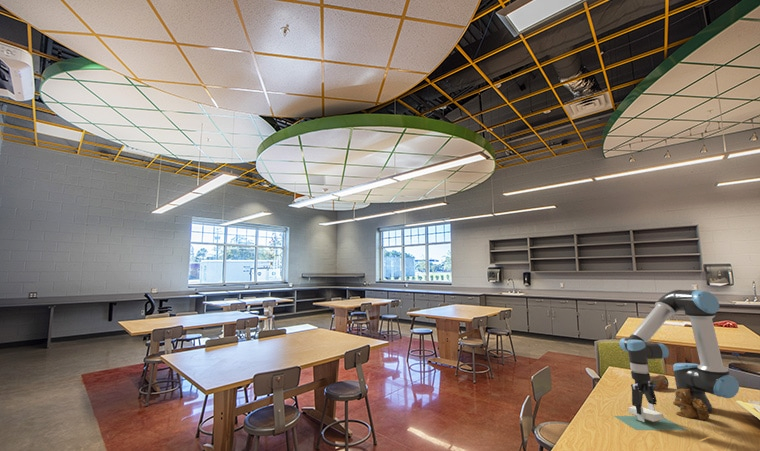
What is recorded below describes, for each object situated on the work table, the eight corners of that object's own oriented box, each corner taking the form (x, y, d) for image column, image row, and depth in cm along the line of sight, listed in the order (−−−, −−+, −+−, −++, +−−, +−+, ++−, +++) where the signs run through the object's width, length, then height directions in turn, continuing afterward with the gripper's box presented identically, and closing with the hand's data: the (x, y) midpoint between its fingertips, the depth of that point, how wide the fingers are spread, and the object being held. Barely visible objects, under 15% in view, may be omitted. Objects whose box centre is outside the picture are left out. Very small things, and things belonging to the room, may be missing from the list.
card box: (637, 405, 167) (662, 413, 157) (638, 411, 167) (663, 420, 157) (628, 407, 164) (652, 415, 154) (628, 413, 164) (653, 422, 154)
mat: (660, 416, 166) (660, 415, 166) (688, 431, 150) (688, 430, 150) (613, 416, 167) (613, 415, 167) (636, 431, 151) (636, 430, 151)
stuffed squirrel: (681, 410, 174) (677, 384, 176) (716, 420, 161) (711, 392, 163) (671, 413, 170) (667, 387, 172) (707, 424, 157) (701, 395, 159)
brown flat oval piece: (653, 391, 203) (651, 377, 205) (647, 389, 206) (645, 375, 208) (670, 388, 207) (667, 374, 209) (664, 387, 210) (662, 373, 212)
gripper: (644, 367, 171) (651, 412, 167) (618, 372, 163) (625, 420, 159) (660, 370, 164) (668, 418, 160) (635, 376, 156) (642, 426, 152)
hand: (647, 419), depth 160 cm, fingers open, 9 cm apart
